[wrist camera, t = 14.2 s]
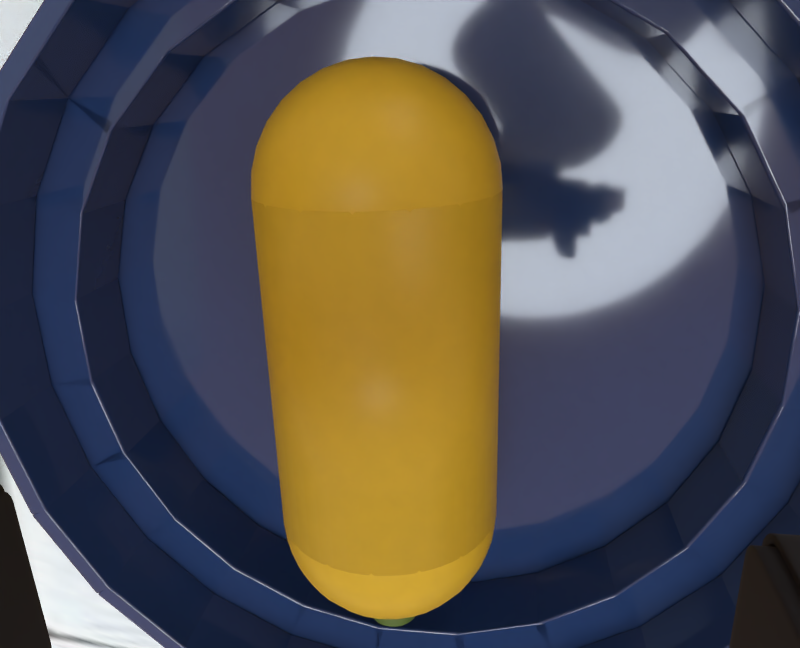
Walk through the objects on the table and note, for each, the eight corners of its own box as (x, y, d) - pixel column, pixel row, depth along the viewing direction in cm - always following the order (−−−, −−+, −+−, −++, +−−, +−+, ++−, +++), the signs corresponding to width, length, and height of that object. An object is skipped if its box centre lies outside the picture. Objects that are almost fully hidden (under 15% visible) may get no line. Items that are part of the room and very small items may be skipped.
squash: (311, 63, 19) (179, 58, 14) (526, 54, 17) (468, 46, 12) (343, 533, 24) (256, 661, 19) (511, 566, 22) (467, 718, 17)
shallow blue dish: (7, -81, 19) (-159, -134, 14) (902, -143, 16) (1075, -239, 11) (135, 589, 26) (54, 702, 21) (761, 637, 23) (829, 781, 18)
